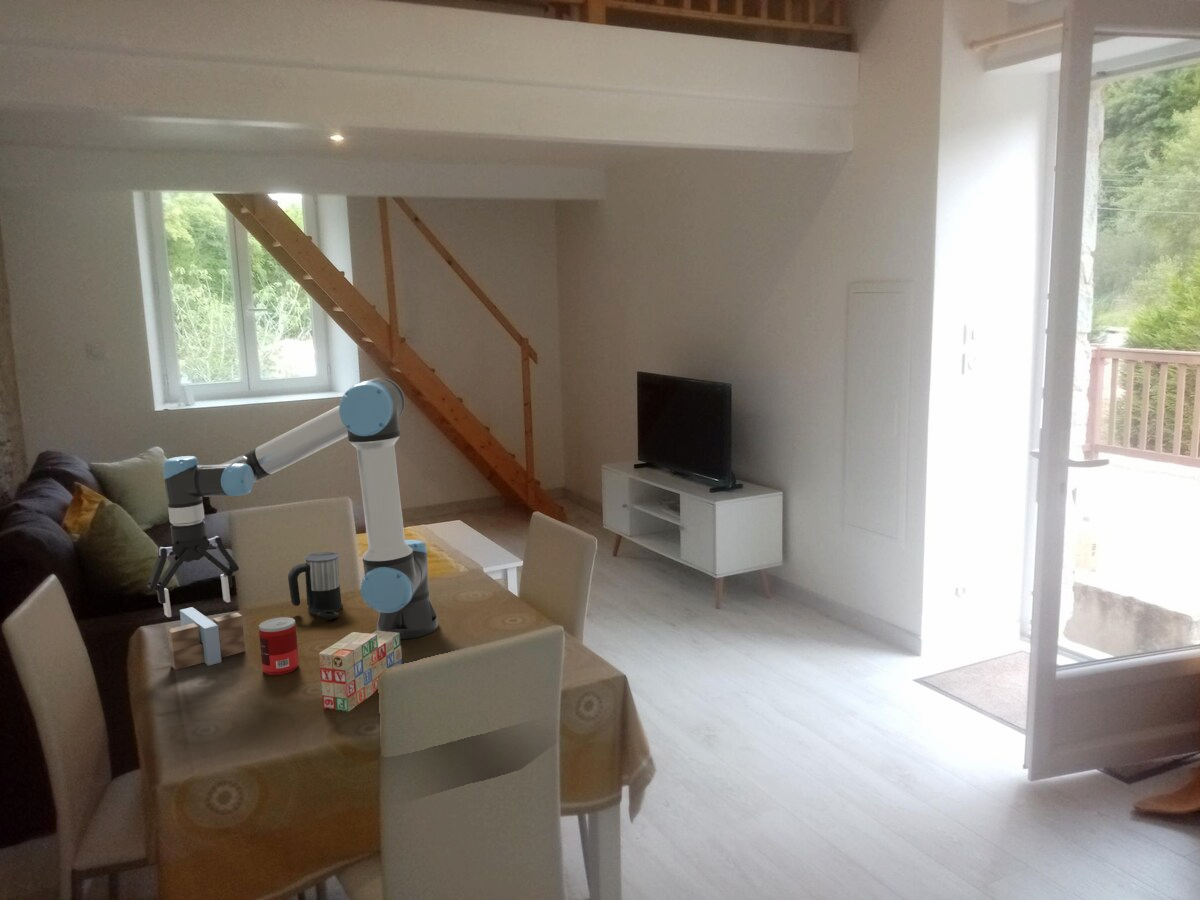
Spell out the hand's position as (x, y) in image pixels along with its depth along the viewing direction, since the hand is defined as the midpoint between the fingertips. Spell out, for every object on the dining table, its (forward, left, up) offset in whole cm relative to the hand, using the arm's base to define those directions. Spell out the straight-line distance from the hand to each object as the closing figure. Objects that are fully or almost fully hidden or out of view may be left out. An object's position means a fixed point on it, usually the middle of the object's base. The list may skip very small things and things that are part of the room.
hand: (198, 608), depth 216 cm
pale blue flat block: (-1, 0, -11) cm, 11 cm away
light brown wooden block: (-6, 0, -11) cm, 12 cm away
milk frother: (+5, -34, -11) cm, 36 cm away
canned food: (-24, -10, -11) cm, 28 cm away
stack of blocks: (-47, -18, -11) cm, 52 cm away
